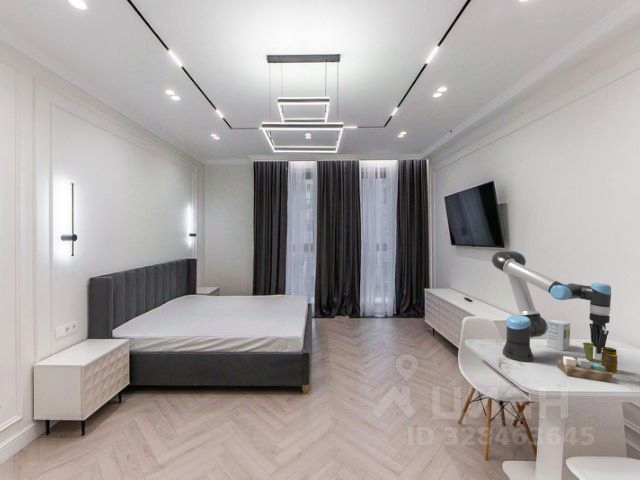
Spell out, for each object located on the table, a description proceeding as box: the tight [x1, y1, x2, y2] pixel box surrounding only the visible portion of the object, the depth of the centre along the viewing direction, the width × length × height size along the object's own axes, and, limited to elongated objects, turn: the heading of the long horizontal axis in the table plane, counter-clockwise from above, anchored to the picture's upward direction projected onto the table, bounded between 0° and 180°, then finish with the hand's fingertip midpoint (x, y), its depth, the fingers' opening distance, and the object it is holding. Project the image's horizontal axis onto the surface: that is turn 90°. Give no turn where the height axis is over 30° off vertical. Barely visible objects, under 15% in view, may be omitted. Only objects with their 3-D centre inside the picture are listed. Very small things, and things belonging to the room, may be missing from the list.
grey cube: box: [576, 357, 591, 369], centre depth 152 cm, size 4×4×4 cm
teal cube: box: [590, 362, 605, 371], centre depth 150 cm, size 4×4×4 cm
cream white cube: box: [562, 355, 577, 367], centre depth 155 cm, size 4×4×4 cm
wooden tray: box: [557, 359, 613, 384], centre depth 152 cm, size 18×12×4 cm, turn 70°
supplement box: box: [546, 319, 571, 352], centre depth 192 cm, size 10×9×17 cm
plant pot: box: [581, 342, 603, 363], centre depth 172 cm, size 9×9×9 cm
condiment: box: [600, 346, 622, 375], centre depth 158 cm, size 7×8×12 cm
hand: (596, 359), depth 151 cm, fingers closed
